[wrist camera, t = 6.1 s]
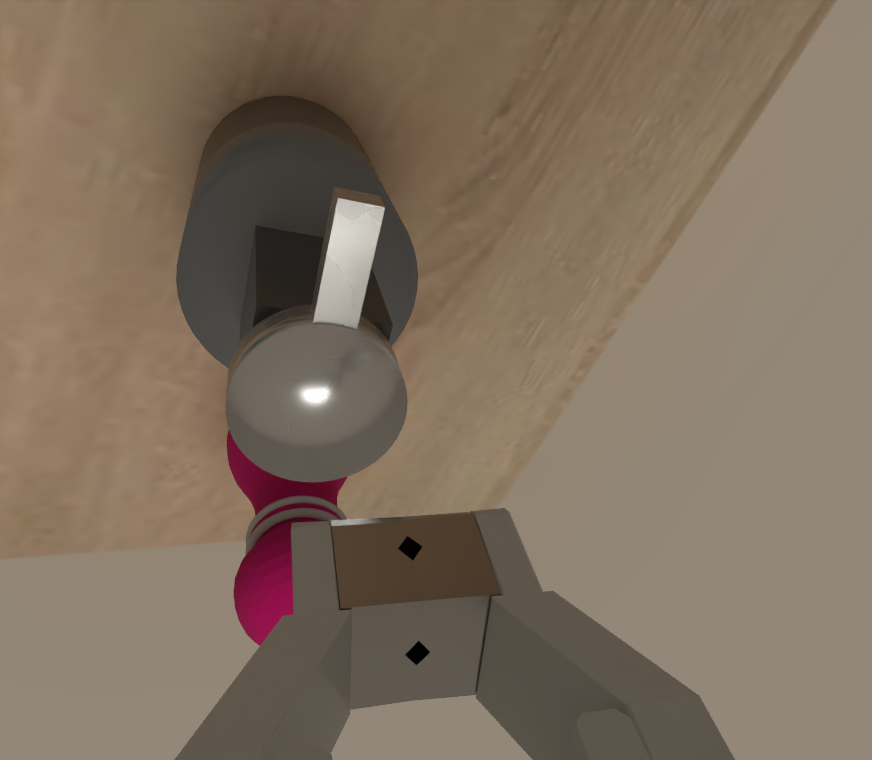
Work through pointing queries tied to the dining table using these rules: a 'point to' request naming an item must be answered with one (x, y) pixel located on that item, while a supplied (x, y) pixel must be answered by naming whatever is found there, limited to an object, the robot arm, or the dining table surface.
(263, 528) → the pepper mill
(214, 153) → the dispenser
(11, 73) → the dining table surface
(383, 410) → the pump head
